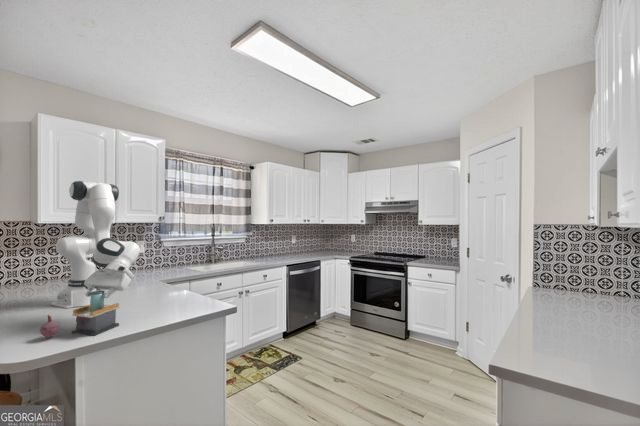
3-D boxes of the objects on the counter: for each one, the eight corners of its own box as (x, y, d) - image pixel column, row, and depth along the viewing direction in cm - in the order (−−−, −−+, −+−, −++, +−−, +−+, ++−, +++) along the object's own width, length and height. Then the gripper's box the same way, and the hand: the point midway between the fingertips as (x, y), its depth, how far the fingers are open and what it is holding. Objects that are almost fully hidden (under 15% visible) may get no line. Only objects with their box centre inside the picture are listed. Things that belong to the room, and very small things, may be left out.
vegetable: (48, 335, 126) (48, 311, 126) (63, 335, 126) (63, 311, 126) (35, 341, 120) (35, 316, 120) (51, 341, 120) (51, 316, 120)
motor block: (65, 333, 128) (65, 309, 128) (94, 322, 142) (95, 300, 142) (93, 336, 126) (93, 312, 126) (120, 324, 139) (121, 303, 140)
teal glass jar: (86, 310, 132) (87, 292, 132) (97, 307, 137) (97, 290, 137) (96, 311, 131) (97, 293, 131) (106, 308, 136) (107, 291, 136)
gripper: (93, 265, 143) (72, 291, 133) (129, 268, 139) (110, 294, 129) (101, 273, 147) (81, 298, 137) (137, 276, 143) (119, 302, 134)
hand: (96, 296), depth 133 cm, fingers open, 8 cm apart
